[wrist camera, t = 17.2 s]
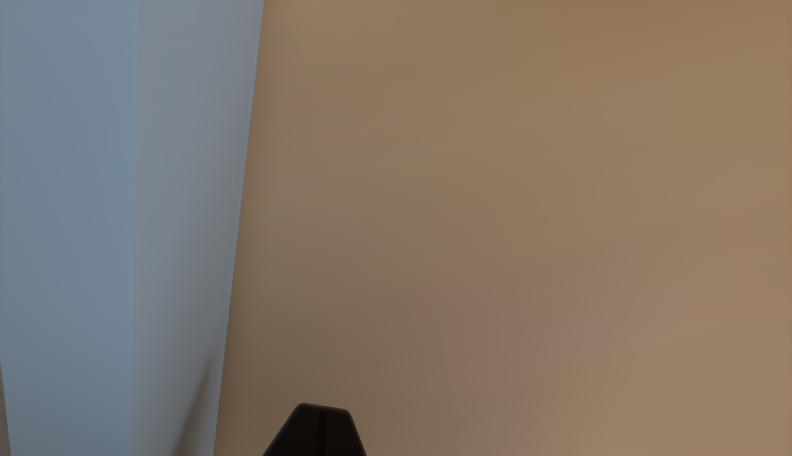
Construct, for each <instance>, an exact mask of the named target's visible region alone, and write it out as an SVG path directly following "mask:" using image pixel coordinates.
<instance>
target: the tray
mask: <svg viewBox="0 0 792 456" xmlns="http://www.w3.org/2000/svg"><path fill="white" fill-rule="evenodd" d="M263 4H264V0H0V456H213V453H214V444H215V435H216V426H217V417H218V408H219V399H220V390H221V381H222V372H223V363H224V354H225V345H226V336H227V328H228V319H229V310H230V301H231V292H232V283H233V274H234V265H235V256H236V247H237V238H238V229H239V220H240V211H241V202H242V193H243V184H244V175H245V166H246V157H247V148H248V139H249V130H250V121H251V112H252V103H253V94H254V85H255V76H256V67H257V58H258V49H259V40H260V31H261V22H262V13H263Z"/></svg>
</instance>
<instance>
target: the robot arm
mask: <svg viewBox="0 0 792 456" xmlns="http://www.w3.org/2000/svg"><path fill="white" fill-rule="evenodd" d="M263 456H367V455H366V453H365V450H364V447H363V445H362V442H361V439H360V437H359V434H358V432H357V429H356V426H355V424H354V421H353V418H352V416H351V414H350V413H349V412H348V411H347V410H345V409H340V408H334V407H327V406H321V405H314V404H308V403H301V404H299V405H298V406H297V407H296V408H295V409H294V410H293V412H292V413H291V415H290V416H289V418H288V419H287V421H286V422H285V424H284V425H283V426H282V428H281V429H280V431H279V432H278V434H277V435H276V437H275V438H274V440H273V441H272V443H271V444H270V445H269V447H268V448H267V450H266V451H265V453H264V454H263Z"/></svg>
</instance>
